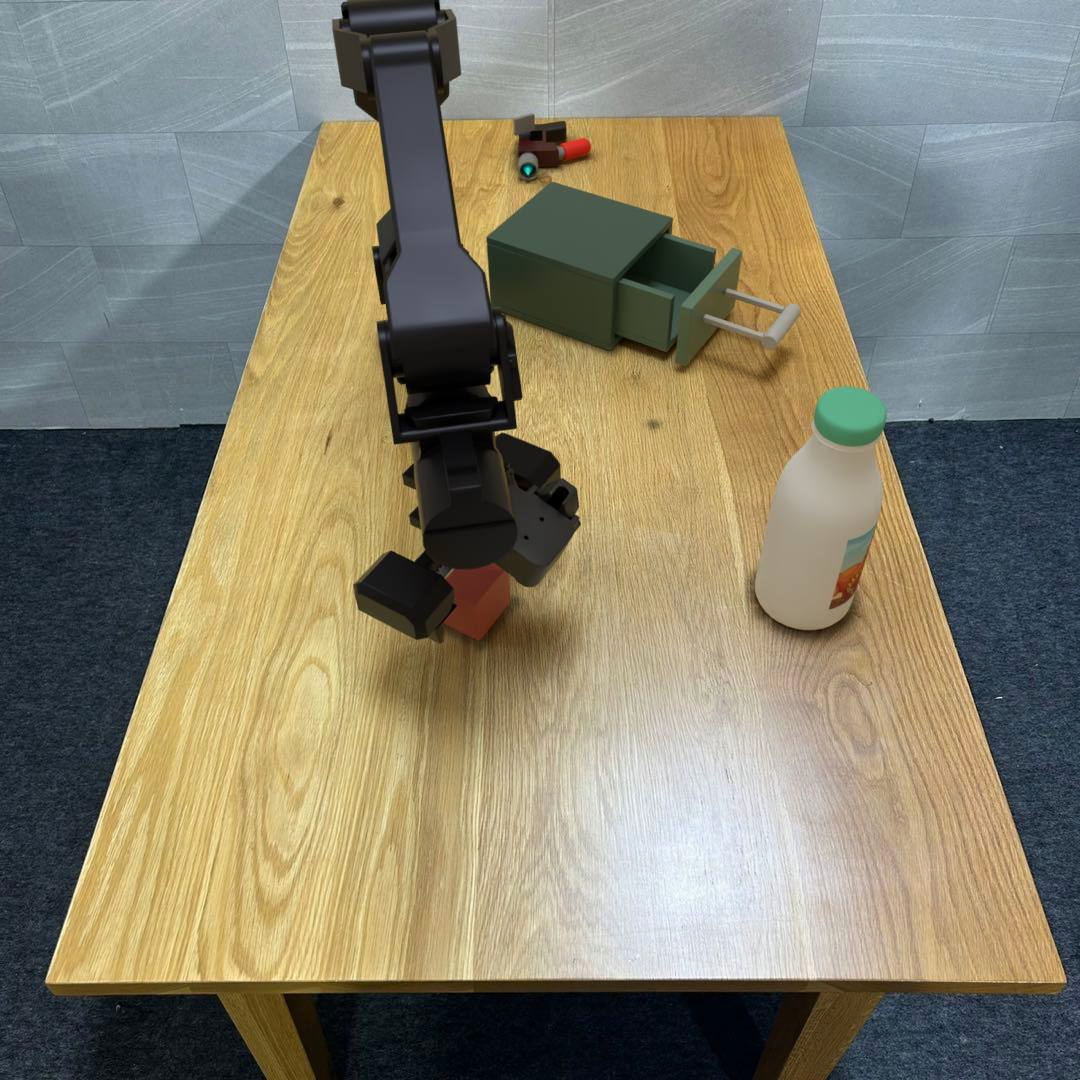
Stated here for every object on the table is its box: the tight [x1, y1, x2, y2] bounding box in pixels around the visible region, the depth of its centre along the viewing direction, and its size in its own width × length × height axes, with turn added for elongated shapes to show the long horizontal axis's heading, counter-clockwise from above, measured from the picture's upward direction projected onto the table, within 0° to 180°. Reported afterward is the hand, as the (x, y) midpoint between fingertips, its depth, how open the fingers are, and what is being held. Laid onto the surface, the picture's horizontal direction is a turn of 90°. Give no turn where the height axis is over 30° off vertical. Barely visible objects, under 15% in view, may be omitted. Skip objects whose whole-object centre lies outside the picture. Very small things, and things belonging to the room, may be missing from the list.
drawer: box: [614, 233, 802, 367], centre depth 103 cm, size 21×11×7 cm, turn 58°
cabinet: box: [485, 181, 674, 352], centre depth 108 cm, size 15×13×9 cm
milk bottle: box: [754, 385, 888, 631], centre depth 76 cm, size 8×8×20 cm
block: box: [444, 563, 512, 642], centre depth 81 cm, size 5×5×5 cm
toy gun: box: [512, 112, 592, 181], centre depth 129 cm, size 10×12×5 cm
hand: (470, 600), depth 82 cm, fingers open, 9 cm apart
